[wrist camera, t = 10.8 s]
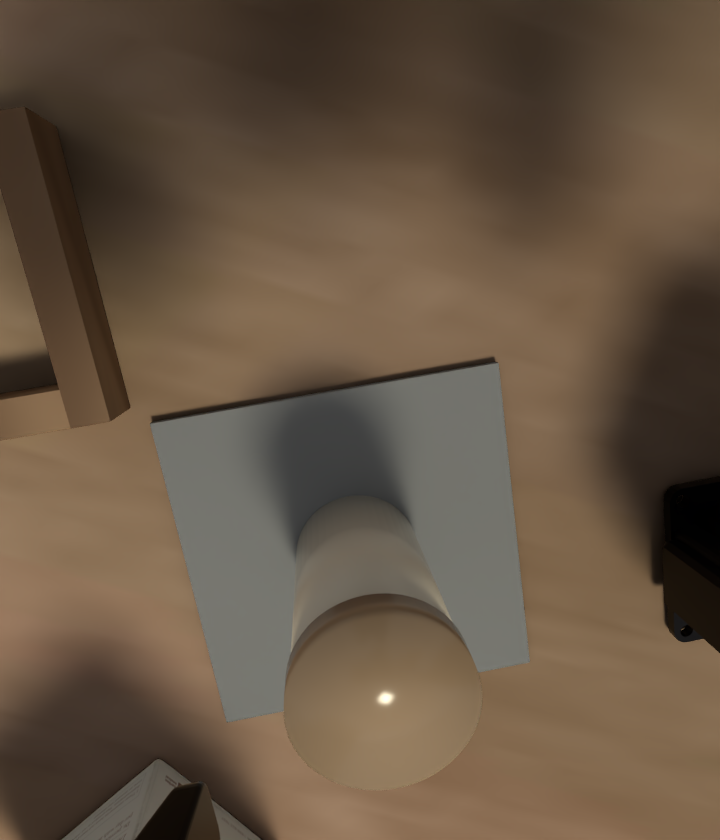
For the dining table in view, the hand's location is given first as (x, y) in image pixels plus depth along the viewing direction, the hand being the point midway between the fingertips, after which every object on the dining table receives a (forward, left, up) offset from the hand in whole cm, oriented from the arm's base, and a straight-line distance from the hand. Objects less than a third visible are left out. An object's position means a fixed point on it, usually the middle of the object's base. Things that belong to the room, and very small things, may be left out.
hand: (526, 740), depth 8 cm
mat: (+2, +3, -13) cm, 13 cm away
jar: (+2, +3, -13) cm, 13 cm away
